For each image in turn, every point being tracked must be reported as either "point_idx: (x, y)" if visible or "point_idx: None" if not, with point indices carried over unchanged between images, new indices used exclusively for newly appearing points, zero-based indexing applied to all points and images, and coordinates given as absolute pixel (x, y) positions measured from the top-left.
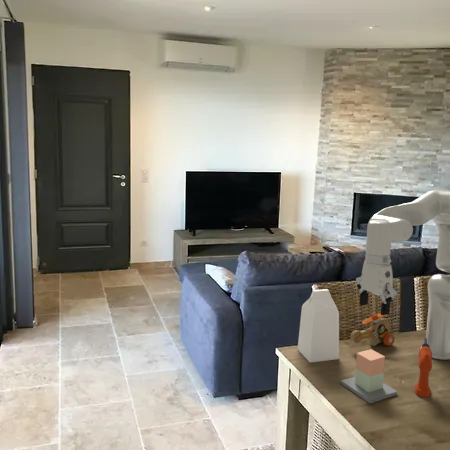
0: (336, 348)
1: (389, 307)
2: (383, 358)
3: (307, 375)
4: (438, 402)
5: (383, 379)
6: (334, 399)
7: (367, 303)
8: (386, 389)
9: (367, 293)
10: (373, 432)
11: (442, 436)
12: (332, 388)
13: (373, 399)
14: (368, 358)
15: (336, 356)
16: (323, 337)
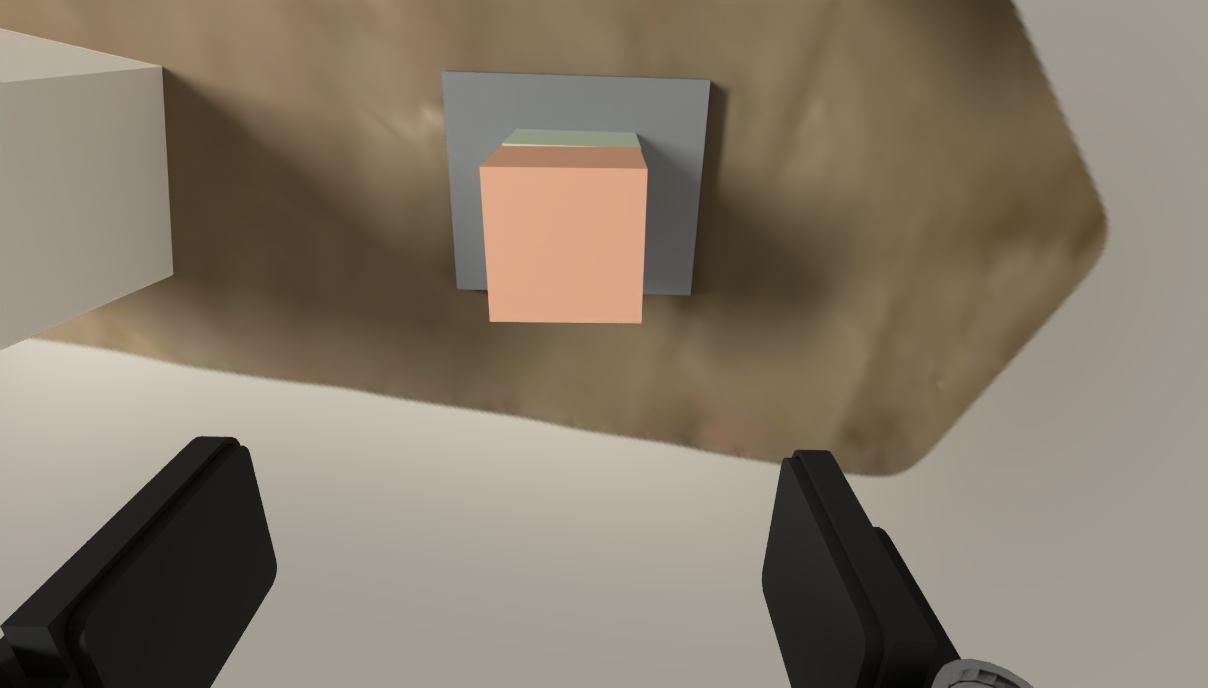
0: (105, 95)
1: (921, 600)
2: (646, 185)
3: (317, 376)
4: None
5: (638, 141)
6: (574, 404)
7: (241, 460)
8: (659, 126)
9: (67, 645)
10: (852, 428)
11: (1082, 193)
12: (485, 350)
13: (692, 270)
14: (604, 310)
15: (149, 88)
16: (34, 233)
